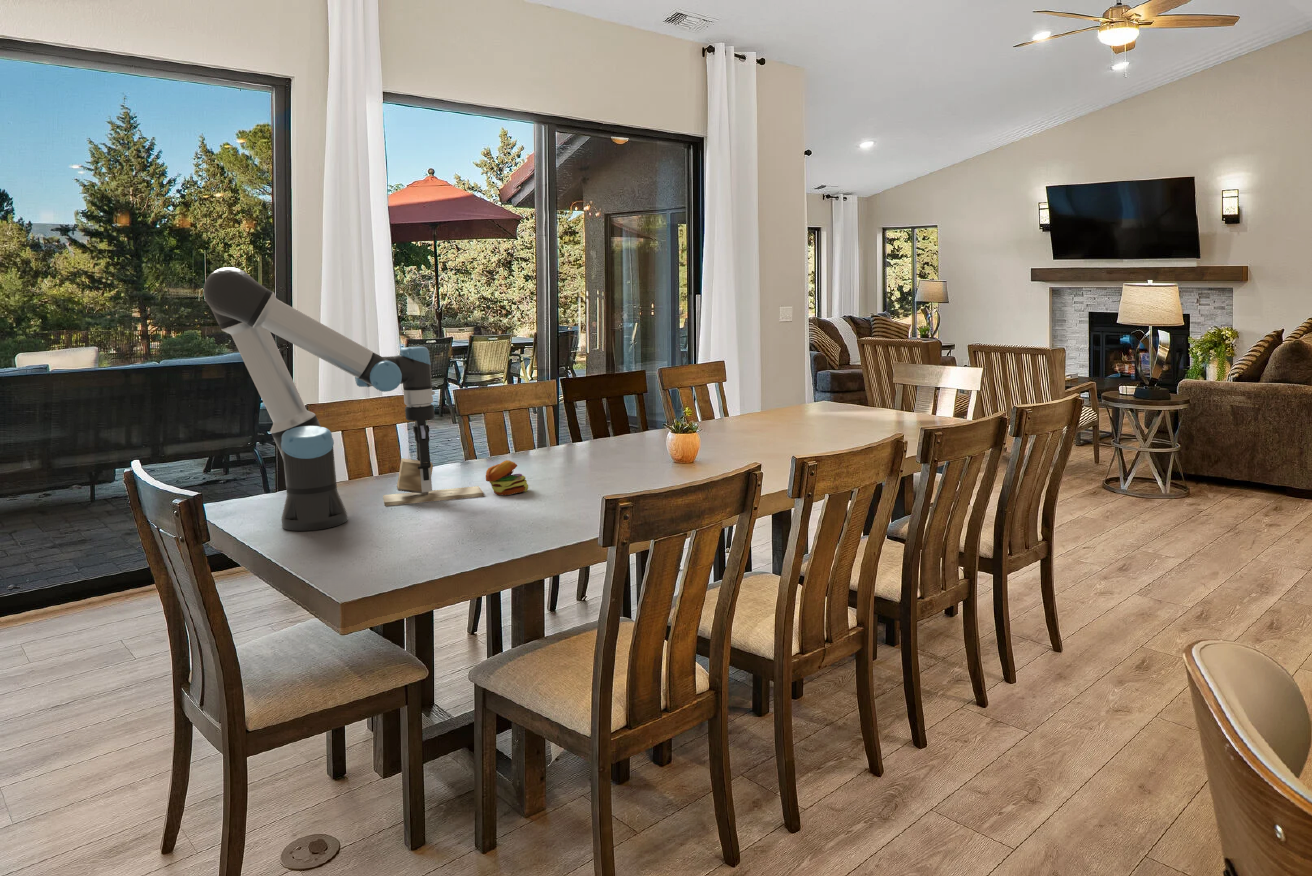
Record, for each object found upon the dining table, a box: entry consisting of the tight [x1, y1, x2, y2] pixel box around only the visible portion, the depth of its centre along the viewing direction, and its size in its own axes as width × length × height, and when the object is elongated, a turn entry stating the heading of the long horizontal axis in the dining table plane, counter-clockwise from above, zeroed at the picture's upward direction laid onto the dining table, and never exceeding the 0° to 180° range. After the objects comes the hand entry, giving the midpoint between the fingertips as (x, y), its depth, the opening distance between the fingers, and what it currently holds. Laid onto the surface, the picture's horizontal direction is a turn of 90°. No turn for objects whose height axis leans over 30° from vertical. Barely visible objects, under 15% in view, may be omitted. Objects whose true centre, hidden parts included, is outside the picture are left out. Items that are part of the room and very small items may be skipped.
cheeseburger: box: [485, 459, 529, 496], centre depth 254 cm, size 10×11×10 cm
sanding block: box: [396, 457, 434, 494], centre depth 249 cm, size 8×5×8 cm, turn 110°
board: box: [382, 485, 485, 507], centre depth 251 cm, size 26×9×1 cm, turn 108°
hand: (426, 489), depth 250 cm, fingers closed on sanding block, 5 cm apart
